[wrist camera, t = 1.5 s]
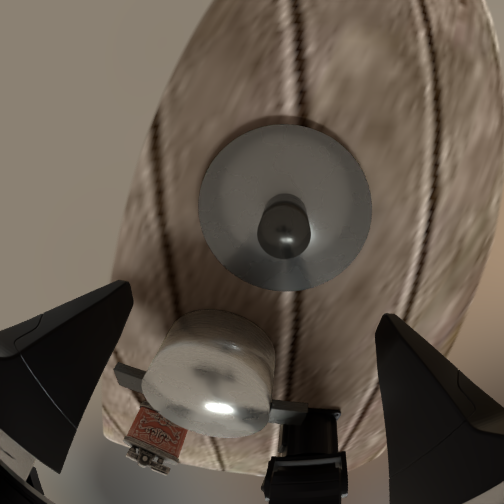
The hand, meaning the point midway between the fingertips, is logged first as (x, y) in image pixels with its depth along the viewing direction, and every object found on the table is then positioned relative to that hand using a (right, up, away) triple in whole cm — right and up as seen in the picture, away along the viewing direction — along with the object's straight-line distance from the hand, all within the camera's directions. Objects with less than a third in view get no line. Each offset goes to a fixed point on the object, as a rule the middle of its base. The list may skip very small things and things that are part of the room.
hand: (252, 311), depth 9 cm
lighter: (-13, -22, +25) cm, 36 cm away
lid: (+2, +5, +11) cm, 12 cm away
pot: (-3, -8, +17) cm, 19 cm away
